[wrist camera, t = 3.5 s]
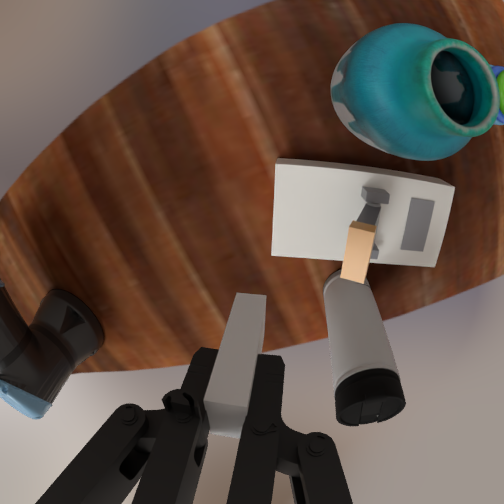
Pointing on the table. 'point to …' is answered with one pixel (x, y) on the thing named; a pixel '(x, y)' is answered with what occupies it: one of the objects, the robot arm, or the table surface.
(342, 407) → the travel mug
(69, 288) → the table surface
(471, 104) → the vase
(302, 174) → the switch box
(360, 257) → the lever
